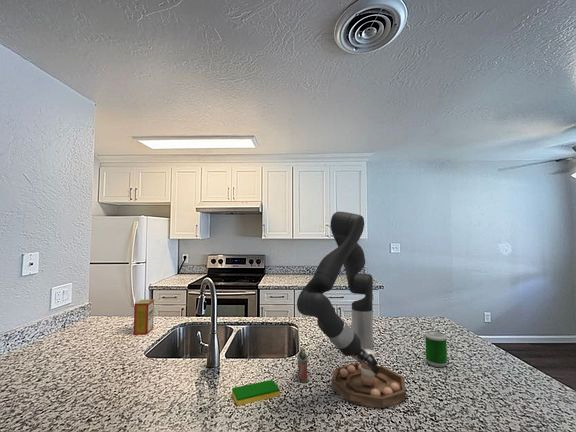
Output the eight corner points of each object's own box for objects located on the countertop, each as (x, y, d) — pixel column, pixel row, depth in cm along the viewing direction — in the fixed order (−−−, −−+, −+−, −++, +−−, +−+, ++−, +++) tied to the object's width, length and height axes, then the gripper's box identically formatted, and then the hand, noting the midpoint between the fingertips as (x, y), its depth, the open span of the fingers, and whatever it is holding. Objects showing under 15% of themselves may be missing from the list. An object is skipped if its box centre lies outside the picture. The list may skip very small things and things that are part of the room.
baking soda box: (147, 334, 152) (148, 302, 153) (133, 335, 152) (134, 302, 152) (153, 328, 162) (154, 298, 163) (140, 329, 161) (141, 298, 162)
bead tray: (320, 380, 105) (320, 371, 105) (370, 367, 116) (370, 359, 116) (365, 416, 85) (365, 405, 85) (421, 396, 95) (421, 386, 95)
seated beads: (336, 375, 107) (336, 366, 107) (360, 369, 112) (360, 360, 112) (377, 404, 89) (377, 394, 89) (404, 395, 94) (404, 385, 94)
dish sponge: (280, 397, 95) (280, 389, 95) (237, 407, 90) (237, 398, 90) (272, 386, 102) (272, 379, 102) (231, 395, 96) (231, 387, 96)
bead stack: (358, 380, 101) (358, 350, 102) (368, 378, 103) (368, 348, 104) (367, 386, 97) (367, 355, 98) (377, 383, 99) (377, 352, 100)
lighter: (296, 372, 111) (296, 345, 112) (305, 372, 111) (305, 344, 112) (299, 383, 103) (299, 353, 103) (309, 383, 103) (309, 353, 104)
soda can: (449, 369, 114) (448, 337, 115) (428, 367, 116) (427, 335, 117) (443, 361, 122) (442, 330, 122) (423, 359, 123) (423, 329, 124)
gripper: (364, 334, 92) (394, 367, 96) (336, 322, 104) (363, 351, 109) (351, 355, 89) (382, 388, 94) (324, 340, 102) (352, 369, 106)
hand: (372, 368), depth 101 cm, fingers closed on bead stack, 4 cm apart
